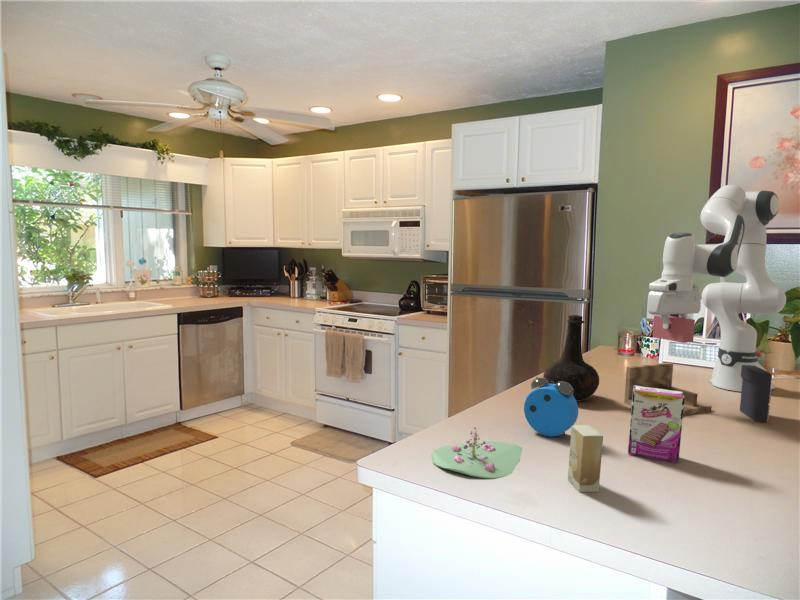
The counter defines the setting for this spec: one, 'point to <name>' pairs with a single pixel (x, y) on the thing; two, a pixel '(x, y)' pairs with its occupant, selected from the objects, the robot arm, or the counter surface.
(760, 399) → the stepped charcoal slab
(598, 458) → the skincare box
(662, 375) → the wooden shelf rack
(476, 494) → the counter surface
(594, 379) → the glass bottle
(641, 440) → the candy bar box
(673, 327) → the boxed book
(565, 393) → the alarm clock
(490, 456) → the plant
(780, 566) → the counter surface
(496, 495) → the counter surface
